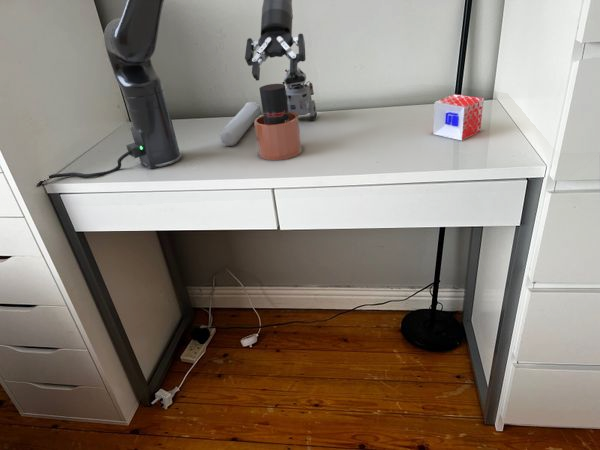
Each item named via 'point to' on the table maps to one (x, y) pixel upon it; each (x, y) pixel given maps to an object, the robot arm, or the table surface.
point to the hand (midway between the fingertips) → (274, 77)
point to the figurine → (299, 94)
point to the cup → (278, 138)
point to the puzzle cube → (458, 116)
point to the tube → (240, 124)
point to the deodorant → (274, 104)
